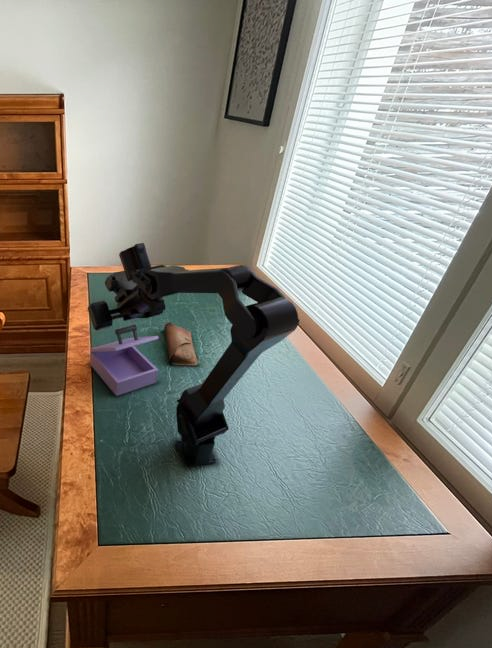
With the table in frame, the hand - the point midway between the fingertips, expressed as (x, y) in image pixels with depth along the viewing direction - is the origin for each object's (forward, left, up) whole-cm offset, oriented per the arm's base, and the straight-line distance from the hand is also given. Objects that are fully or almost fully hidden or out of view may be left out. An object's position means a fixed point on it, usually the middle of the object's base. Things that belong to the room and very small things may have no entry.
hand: (113, 319), depth 99 cm
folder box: (-6, -2, -13) cm, 15 cm away
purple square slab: (-5, -2, -5) cm, 7 cm away
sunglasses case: (+4, -22, -14) cm, 26 cm away
